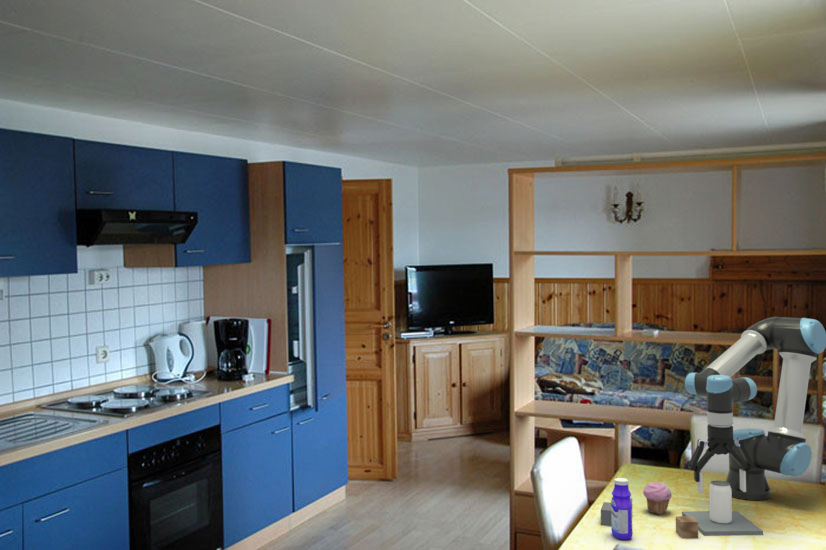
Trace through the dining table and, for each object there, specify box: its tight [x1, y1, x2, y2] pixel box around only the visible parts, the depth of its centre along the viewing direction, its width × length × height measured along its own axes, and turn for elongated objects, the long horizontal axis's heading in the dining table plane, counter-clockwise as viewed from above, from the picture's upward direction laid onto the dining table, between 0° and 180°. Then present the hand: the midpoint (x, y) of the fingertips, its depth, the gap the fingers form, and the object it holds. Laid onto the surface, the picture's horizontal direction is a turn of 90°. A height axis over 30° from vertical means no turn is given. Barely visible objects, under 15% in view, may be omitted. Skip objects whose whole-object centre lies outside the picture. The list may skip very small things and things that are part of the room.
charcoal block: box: [600, 501, 611, 527], centre depth 233 cm, size 4×8×5 cm, turn 159°
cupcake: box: [642, 481, 673, 515], centre depth 241 cm, size 9×9×10 cm
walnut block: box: [675, 515, 699, 539], centre depth 220 cm, size 5×5×5 cm
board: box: [681, 510, 764, 536], centre depth 229 cm, size 18×18×1 cm
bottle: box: [610, 477, 634, 540], centre depth 220 cm, size 7×6×17 cm
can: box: [709, 480, 733, 524], centre depth 228 cm, size 6×6×12 cm
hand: (721, 491), depth 229 cm, fingers open, 13 cm apart
